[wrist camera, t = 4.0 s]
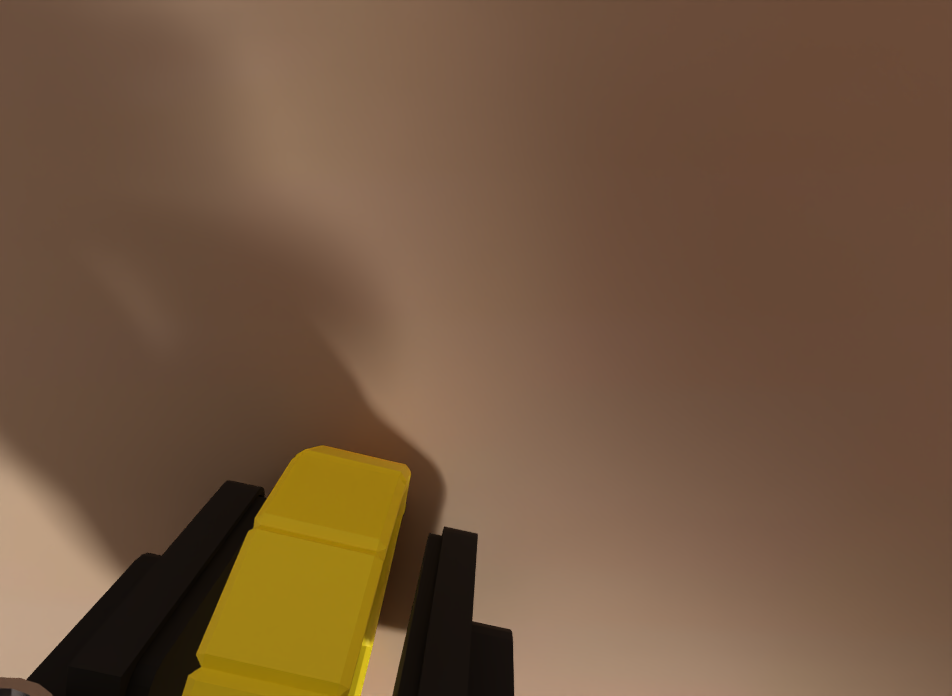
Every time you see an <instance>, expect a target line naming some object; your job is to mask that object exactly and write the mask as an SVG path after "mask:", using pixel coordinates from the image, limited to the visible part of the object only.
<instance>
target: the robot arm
mask: <svg viewBox="0 0 952 696" xmlns="http://www.w3.org/2000/svg"><path fill="white" fill-rule="evenodd" d="M266 499H267V498H264V489H263V488H262V487H257V486H253V485H248V484H243V483H239V482H234V481H226V482H225V483H224V484H223V485H222V486H221V487H220V489H219V490H218V491H217V492H216V493H215V494H214V496H213V497H212V498H211V499H210V500H209V501H208V503H207V504H206V505H205V506H204V507H203V508H202V510H201V511H200V512H199V513H198V514H197V515H196V517H195V518H194V519H193V520H192V521H191V522H190V524H189V525H188V526H187V527H186V528H185V529H184V531H183V532H182V533H181V534H180V535H179V536H178V538H177V539H176V540H175V541H174V542H173V543H172V545H171V546H170V547H169V548H168V549H167V550H166V552H165V553H164V554H163V555H162V556H160V555H156V554H151V553H146V554H142V555H141V556H140V557H139V558H138V559H136V560H135V561H134V562H133V563H132V565H131V566H130V567H129V568H128V569H127V570H126V571H125V572H124V573H123V574H122V576H121V577H120V578H119V579H118V580H117V581H116V582H115V583H114V584H113V585H112V586H111V588H110V589H109V590H108V591H107V592H106V593H105V594H104V595H103V596H102V597H101V599H100V600H99V601H98V602H97V603H96V604H95V605H94V606H93V607H92V608H91V609H90V611H89V612H88V613H87V614H86V615H85V616H84V617H83V618H82V619H81V620H80V621H79V623H78V624H77V625H76V626H75V627H74V628H73V629H72V630H71V631H70V632H69V634H68V635H67V636H66V637H65V638H64V639H63V640H62V641H61V642H60V643H59V644H58V646H57V647H56V648H55V649H54V650H53V651H52V652H51V653H50V654H49V655H48V657H47V658H46V659H45V660H44V661H43V662H42V663H41V664H40V665H39V666H38V667H37V669H36V670H35V671H34V672H33V673H32V674H31V675H30V676H29V677H28V678H27V680H25V679H22V678H5V677H0V696H182V694H183V691H184V688H185V684H186V681H187V678H188V675H190V674H191V673H193V672H194V671H196V670H197V669H199V668H200V667H201V665H200V663H199V661H198V658H197V656H196V653H197V651H198V648H199V646H200V644H201V641H202V639H203V637H204V634H205V632H206V630H207V627H208V625H209V622H210V620H211V618H212V615H213V613H214V611H215V608H216V606H217V604H218V601H219V599H220V596H221V594H222V592H223V589H224V587H225V585H226V582H227V580H228V578H229V575H230V573H231V571H232V568H233V566H234V563H235V561H236V559H237V556H238V554H239V552H240V549H241V547H242V545H243V542H244V540H245V537H246V535H247V533H248V531H249V530H251V529H253V527H254V520H255V517H256V515H257V514H258V512H259V511H260V509H261V507H262V506H263V504H264V503H265V501H266ZM477 539H478V534H476V533H472V532H467V531H462V530H458V529H453V528H448V527H444V529H443V533H442V536H441V535H436V534H432V533H429V536H428V540H427V544H426V549H425V553H424V558H423V562H422V566H421V571H420V575H419V580H418V584H417V589H416V593H415V597H414V602H413V606H412V611H411V615H410V619H409V624H408V628H407V633H406V637H405V642H404V646H403V650H402V655H401V659H400V664H399V668H398V673H397V677H396V682H395V686H394V691H393V696H514V669H513V636H512V631H511V630H510V629H506V628H501V627H496V626H491V625H487V624H482V623H477V622H473V621H472V616H473V600H474V585H475V569H476V554H477Z"/></svg>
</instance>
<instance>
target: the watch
mask: <svg viewBox="0 0 952 696" xmlns="http://www.w3.org/2000/svg"><path fill="white" fill-rule="evenodd" d="M410 477H411V472H410V470H409V468H408V467H407V465H406V464H402V463H397V462H393V461H389V460H384V459H380V458H376V457H372V456H367V455H363V454H359V453H354V452H350V451H346V450H341V449H337V448H333V447H329V446H324V445H321V446H317V447H312V448H308V449H305V450H303V451H301V452H300V453H298V454H297V455H296V456H295V458H293V459H292V460H291V461H290V463H289V464H288V466H287V468H286V469H285V471H284V472H283V474H282V476H281V477H280V479H279V480H278V482H277V483H276V485H275V487H274V488H273V490H272V491H271V493H270V495H269V496H268V498H267V499H266V501H265V503H264V504H263V506H262V507H261V509H260V511H259V512H258V514H257V515H256V517H255V520H254V527H253V529H251V530H249V531H248V533H247V535H246V537H245V540H244V542H243V545H242V547H241V549H240V552H239V554H238V556H237V559H236V561H235V563H234V566H233V568H232V571H231V573H230V575H229V578H228V580H227V582H226V585H225V587H224V589H223V592H222V594H221V596H220V599H219V601H218V604H217V606H216V608H215V611H214V613H213V615H212V618H211V620H210V622H209V625H208V627H207V630H206V632H205V634H204V637H203V639H202V641H201V644H200V646H199V648H198V651H197V653H196V656H197V658H198V661H199V663H200V665H201V667H200V668H199V669H197V670H196V671H194V672H193V673H191V674H190V675H188V678H187V681H186V684H185V688H184V691H183V694H182V696H361V691H362V687H363V683H364V679H365V675H366V671H367V667H368V663H369V659H370V655H371V651H372V647H373V642H374V638H375V633H376V629H377V625H378V620H379V616H380V612H381V607H382V603H383V599H384V594H385V590H386V586H387V581H388V577H389V573H390V568H391V564H392V560H393V555H394V551H395V547H396V542H397V538H398V534H399V529H400V525H401V521H402V516H403V514H404V512H405V508H406V499H407V493H408V488H409V482H410Z"/></svg>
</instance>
